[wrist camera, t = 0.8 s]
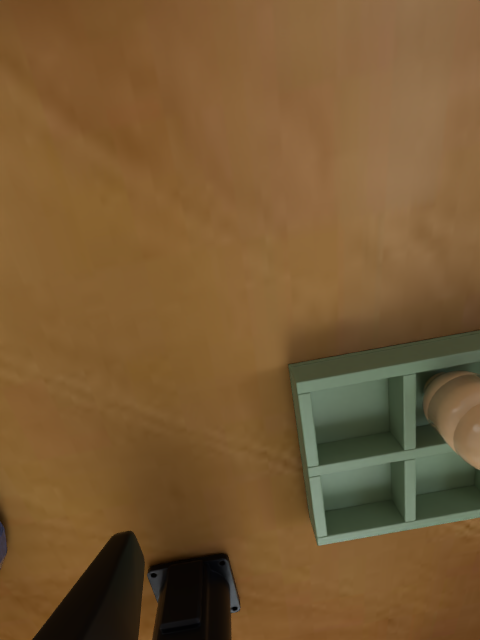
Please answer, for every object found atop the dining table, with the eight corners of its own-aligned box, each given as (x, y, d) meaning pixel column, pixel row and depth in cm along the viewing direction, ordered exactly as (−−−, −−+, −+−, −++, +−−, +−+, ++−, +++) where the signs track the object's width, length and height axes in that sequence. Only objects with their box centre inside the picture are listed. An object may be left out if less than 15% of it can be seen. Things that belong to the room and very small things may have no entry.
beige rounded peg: (471, 409, 23) (567, 488, 17) (408, 421, 23) (480, 503, 17) (475, 352, 22) (581, 414, 15) (408, 364, 22) (486, 431, 15)
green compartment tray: (559, 472, 26) (592, 498, 24) (309, 516, 26) (317, 546, 24) (589, 310, 22) (632, 322, 19) (288, 364, 22) (295, 382, 19)
